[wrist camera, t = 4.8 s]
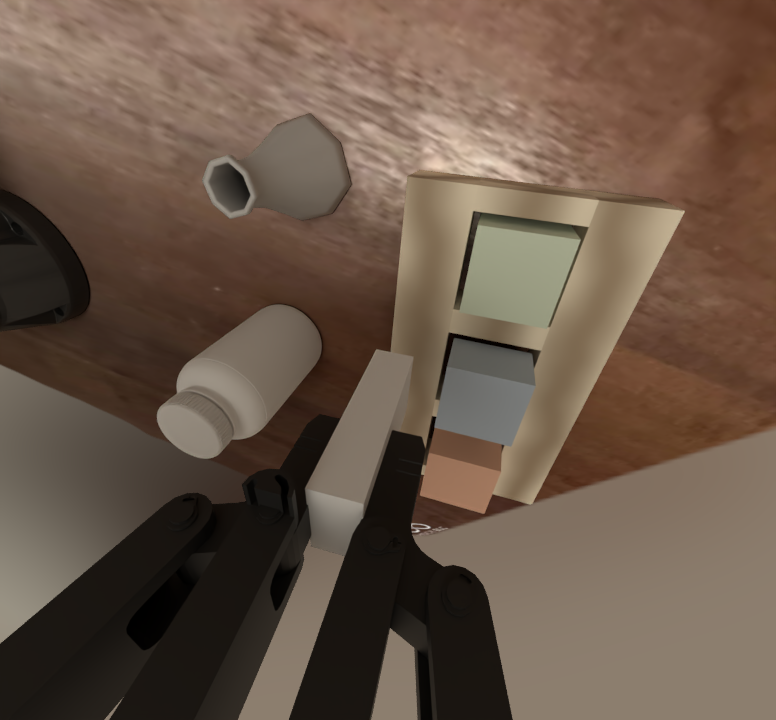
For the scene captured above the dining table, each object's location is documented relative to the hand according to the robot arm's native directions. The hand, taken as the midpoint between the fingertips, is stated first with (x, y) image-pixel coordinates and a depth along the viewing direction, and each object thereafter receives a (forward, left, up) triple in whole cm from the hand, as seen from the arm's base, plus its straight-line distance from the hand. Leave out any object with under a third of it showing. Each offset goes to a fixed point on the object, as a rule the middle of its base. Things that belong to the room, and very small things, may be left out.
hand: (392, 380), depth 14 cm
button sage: (+5, +1, -16) cm, 17 cm away
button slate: (+5, -8, -14) cm, 17 cm away
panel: (+5, -8, -18) cm, 20 cm away
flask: (-12, +5, -18) cm, 22 cm away
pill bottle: (-15, -11, -18) cm, 26 cm away
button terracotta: (+5, -17, -14) cm, 23 cm away
